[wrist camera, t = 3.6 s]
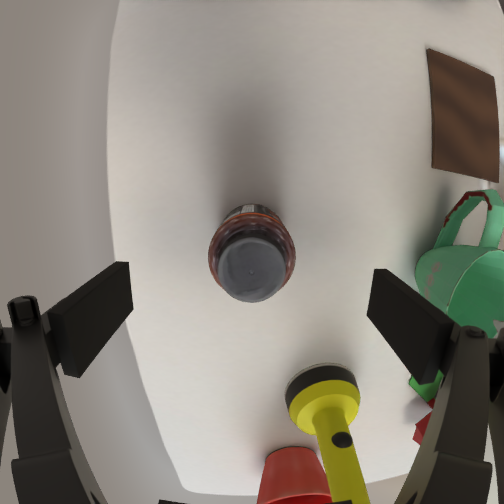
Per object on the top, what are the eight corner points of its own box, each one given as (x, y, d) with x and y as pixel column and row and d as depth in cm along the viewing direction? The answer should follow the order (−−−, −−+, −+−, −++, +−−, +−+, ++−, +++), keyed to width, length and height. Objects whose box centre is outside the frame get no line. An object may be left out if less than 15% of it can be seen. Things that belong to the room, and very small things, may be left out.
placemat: (426, 49, 23) (428, 48, 22) (491, 77, 23) (494, 76, 22) (431, 167, 26) (434, 167, 26) (495, 182, 26) (498, 183, 26)
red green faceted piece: (374, 399, 34) (396, 447, 25) (482, 295, 30) (524, 324, 21) (416, 432, 37) (436, 469, 28) (505, 348, 33) (535, 376, 24)
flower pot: (328, 468, 38) (339, 514, 28) (263, 480, 39) (264, 526, 29) (323, 433, 35) (336, 486, 26) (247, 447, 36) (246, 501, 27)
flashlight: (389, 578, 10) (451, 544, 8) (293, 596, 10) (337, 580, 8) (341, 416, 34) (365, 365, 32) (277, 413, 34) (294, 359, 32)
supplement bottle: (295, 243, 28) (321, 287, 17) (243, 276, 29) (237, 336, 18) (261, 190, 27) (268, 200, 16) (208, 225, 28) (180, 258, 17)
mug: (452, 308, 30) (499, 346, 21) (387, 310, 30) (430, 359, 21) (473, 189, 27) (534, 200, 17) (408, 175, 27) (469, 180, 17)
